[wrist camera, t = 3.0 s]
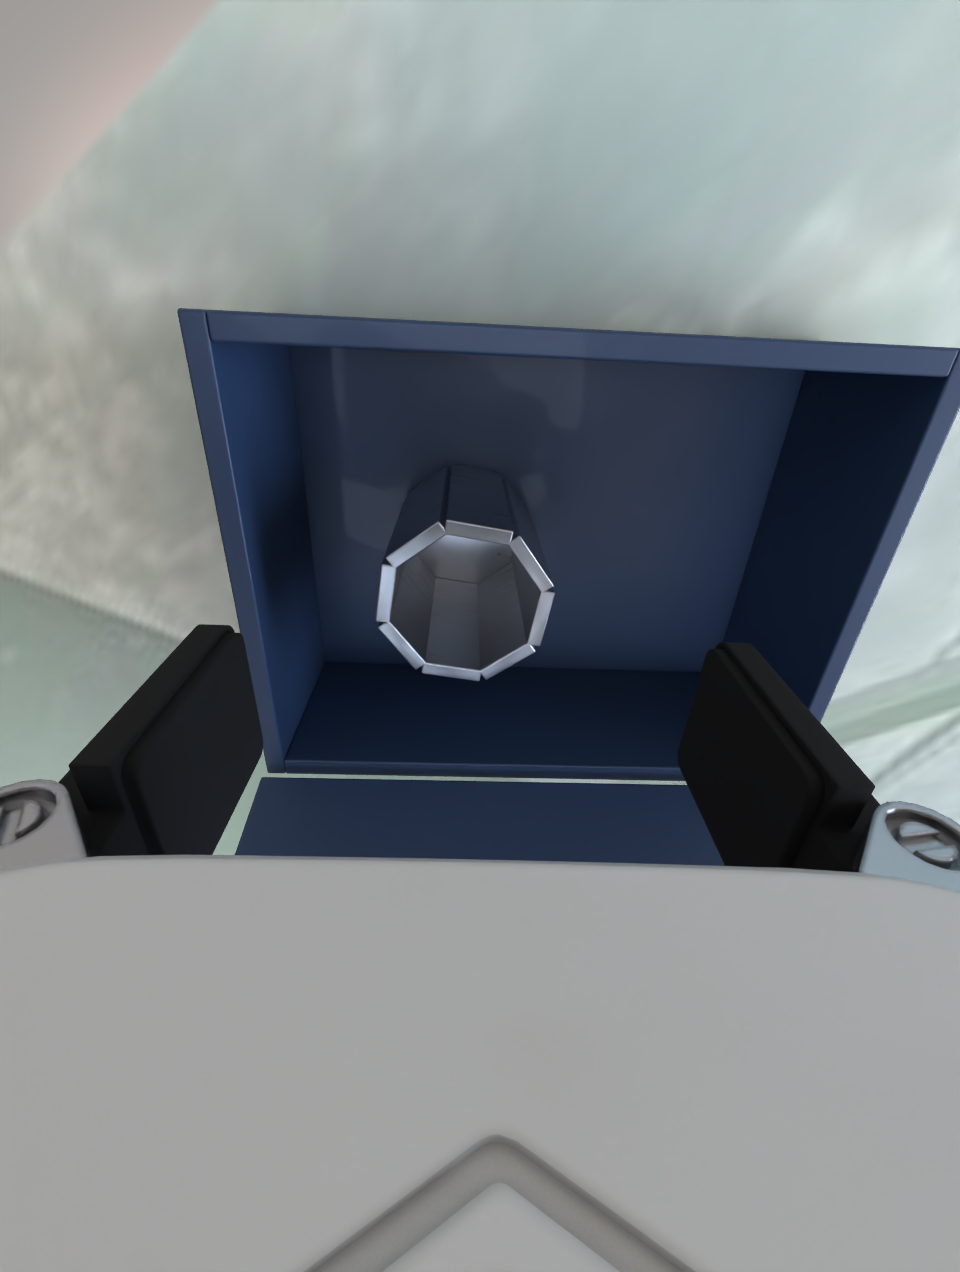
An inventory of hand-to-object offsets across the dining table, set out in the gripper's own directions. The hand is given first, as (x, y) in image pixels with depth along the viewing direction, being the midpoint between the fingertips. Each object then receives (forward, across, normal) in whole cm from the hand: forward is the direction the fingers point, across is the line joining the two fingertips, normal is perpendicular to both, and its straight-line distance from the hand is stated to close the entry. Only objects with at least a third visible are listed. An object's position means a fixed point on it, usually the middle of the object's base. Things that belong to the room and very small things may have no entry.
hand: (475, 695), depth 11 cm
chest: (+11, -2, 0) cm, 11 cm away
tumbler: (+10, 0, 0) cm, 10 cm away
